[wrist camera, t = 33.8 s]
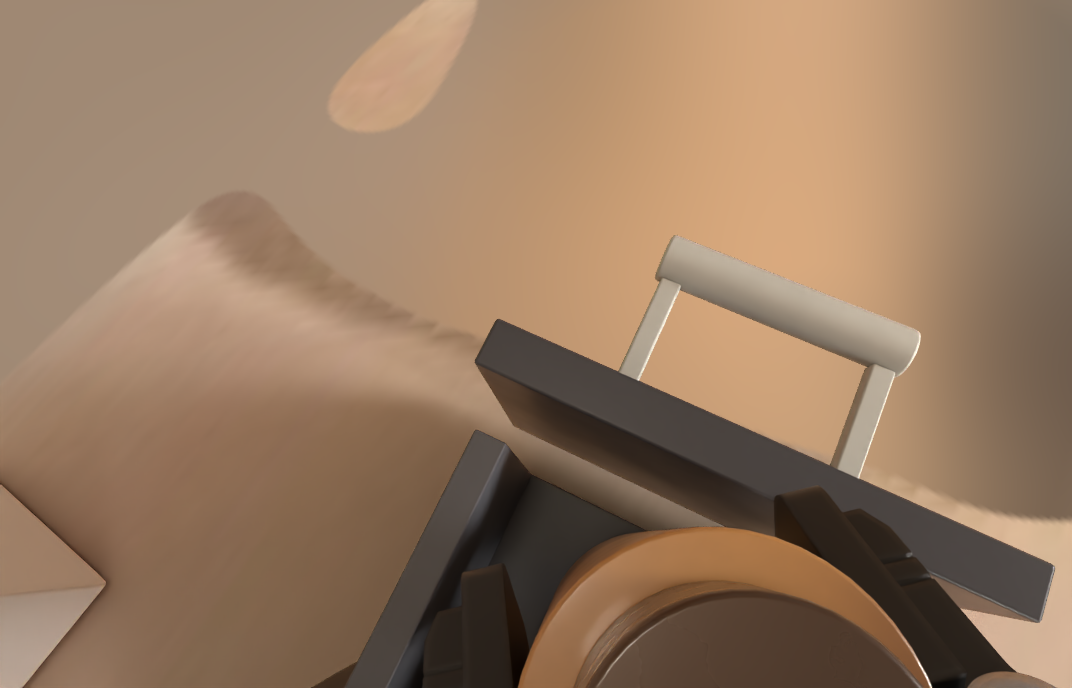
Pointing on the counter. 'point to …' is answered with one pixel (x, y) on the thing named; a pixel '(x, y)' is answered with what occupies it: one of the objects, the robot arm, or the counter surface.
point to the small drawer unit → (337, 679)
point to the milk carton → (36, 591)
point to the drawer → (668, 464)
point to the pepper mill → (714, 619)
